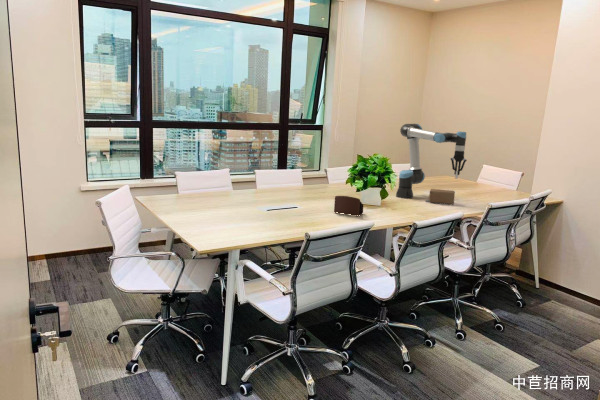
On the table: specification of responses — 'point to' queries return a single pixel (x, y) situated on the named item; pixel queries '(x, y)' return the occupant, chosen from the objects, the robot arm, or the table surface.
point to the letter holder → (348, 205)
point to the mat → (437, 203)
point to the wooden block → (441, 196)
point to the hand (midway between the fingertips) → (456, 178)
